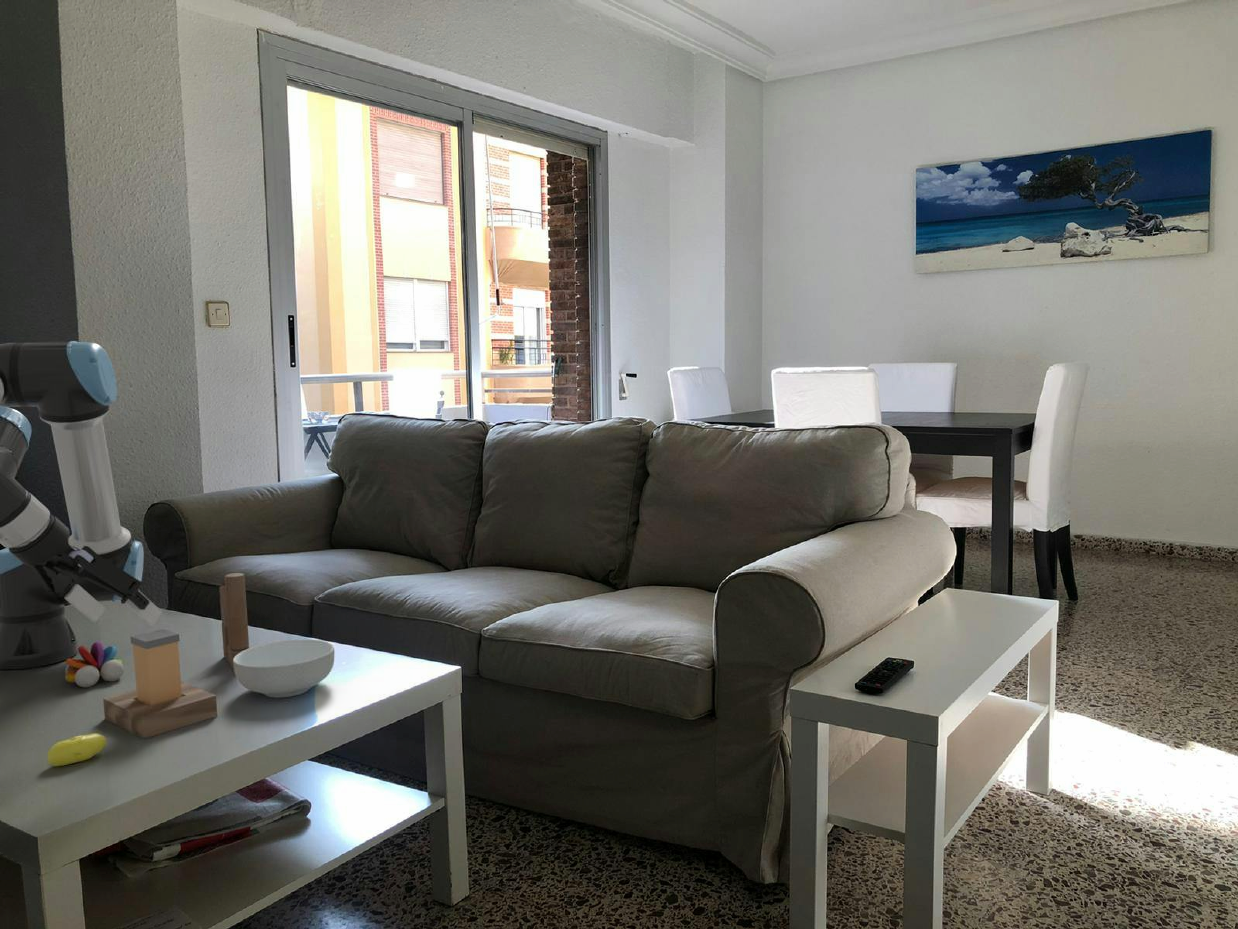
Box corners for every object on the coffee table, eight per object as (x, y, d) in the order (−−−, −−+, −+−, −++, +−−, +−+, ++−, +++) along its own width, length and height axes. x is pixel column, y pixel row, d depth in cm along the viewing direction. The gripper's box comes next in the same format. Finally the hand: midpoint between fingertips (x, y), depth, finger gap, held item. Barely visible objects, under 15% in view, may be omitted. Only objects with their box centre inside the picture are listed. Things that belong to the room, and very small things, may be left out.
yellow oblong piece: (44, 765, 141) (41, 740, 141) (103, 749, 147) (101, 724, 146) (52, 773, 138) (49, 747, 138) (112, 756, 144) (110, 731, 143)
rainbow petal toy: (59, 683, 178) (55, 644, 177) (114, 669, 185) (111, 633, 184) (75, 693, 172) (71, 653, 171) (131, 679, 179) (128, 641, 178)
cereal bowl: (341, 671, 181) (339, 635, 180) (330, 702, 164) (328, 662, 164) (246, 678, 178) (243, 641, 177) (225, 711, 161) (222, 670, 161)
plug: (137, 719, 159) (130, 636, 157) (169, 709, 163) (163, 628, 161) (152, 726, 155) (145, 641, 154) (185, 716, 159) (178, 634, 158)
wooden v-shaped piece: (242, 653, 193) (236, 565, 191) (252, 667, 184) (246, 575, 182) (223, 656, 192) (217, 567, 189) (232, 671, 182) (225, 577, 180)
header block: (104, 719, 159) (103, 698, 158) (176, 698, 168) (175, 678, 168) (143, 739, 150) (142, 717, 149) (217, 715, 159) (215, 695, 159)
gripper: (-40, 550, 143) (62, 633, 157) (66, 551, 132) (166, 640, 146) (-4, 512, 148) (91, 595, 162) (101, 510, 137) (194, 600, 150)
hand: (127, 617), depth 154 cm, fingers open, 13 cm apart
